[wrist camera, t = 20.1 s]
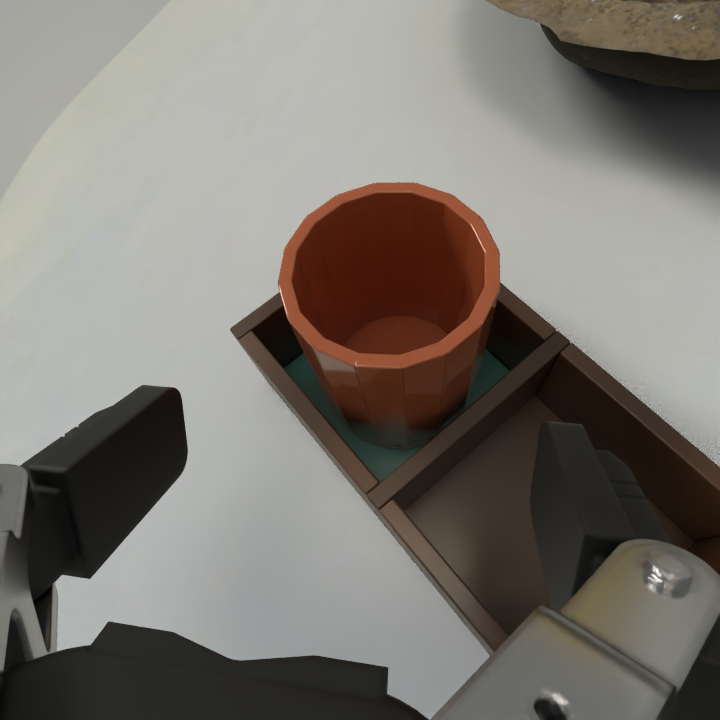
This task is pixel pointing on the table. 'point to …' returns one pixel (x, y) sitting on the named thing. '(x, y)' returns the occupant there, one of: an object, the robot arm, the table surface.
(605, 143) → the table surface
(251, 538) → the table surface
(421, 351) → the cup
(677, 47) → the stone bowl
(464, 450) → the divided wooden box
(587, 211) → the table surface
